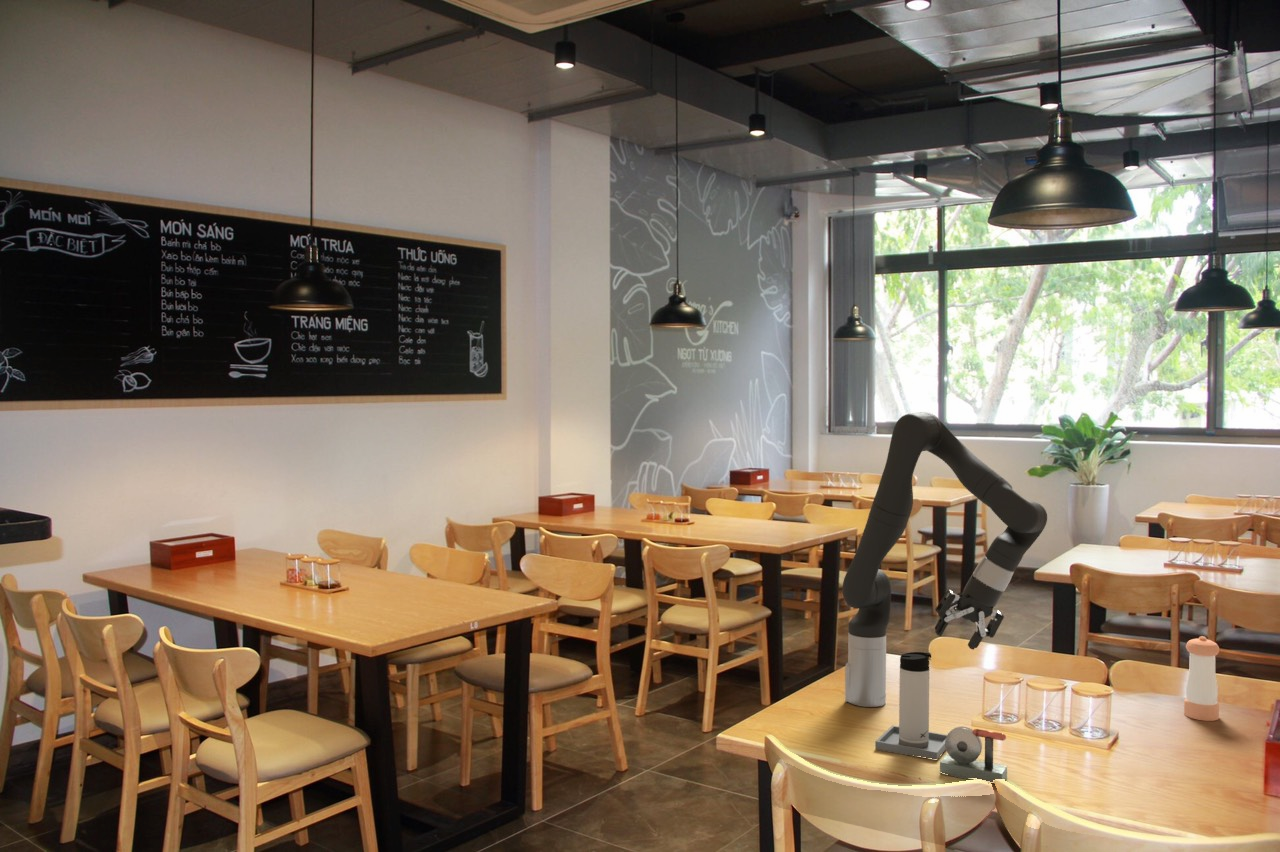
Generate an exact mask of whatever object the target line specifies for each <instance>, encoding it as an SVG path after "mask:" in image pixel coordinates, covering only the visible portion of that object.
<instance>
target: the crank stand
mask: <svg viewBox="0 0 1280 852" xmlns="http://www.w3.org/2000/svg"><path fill="white" fill-rule="evenodd" d="M946 735H947V736H946V739H945V748H946V751H945V752H946V753H947V754H946V755H945V756H943V758H942V759H941V760H940V761H939V773H940V772H942V773H945V774H948V775H952V776H951V777H953V776H954V778H958V779H959V778H960V779H965V780H968V778H977V779H982V780H986V781H990V782H993V780H995V779H1006V780H1007V778H1008V765H1005V764H998V763H994V740H996V741H1006V739H1007V736H1006V734H1005V733H1003V732H998V731H990V730H985V729H979V728H974V729H971V728H969V727H967V726H957V727H954V728H952V729H951V730H950V731H949V732H948V734H946ZM981 738H984V760H983V761H982V760H977V759H978V758H979V757H980V755H981V754H982V751H983V742H982V739H981ZM948 775H947V776H948Z"/></svg>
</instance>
